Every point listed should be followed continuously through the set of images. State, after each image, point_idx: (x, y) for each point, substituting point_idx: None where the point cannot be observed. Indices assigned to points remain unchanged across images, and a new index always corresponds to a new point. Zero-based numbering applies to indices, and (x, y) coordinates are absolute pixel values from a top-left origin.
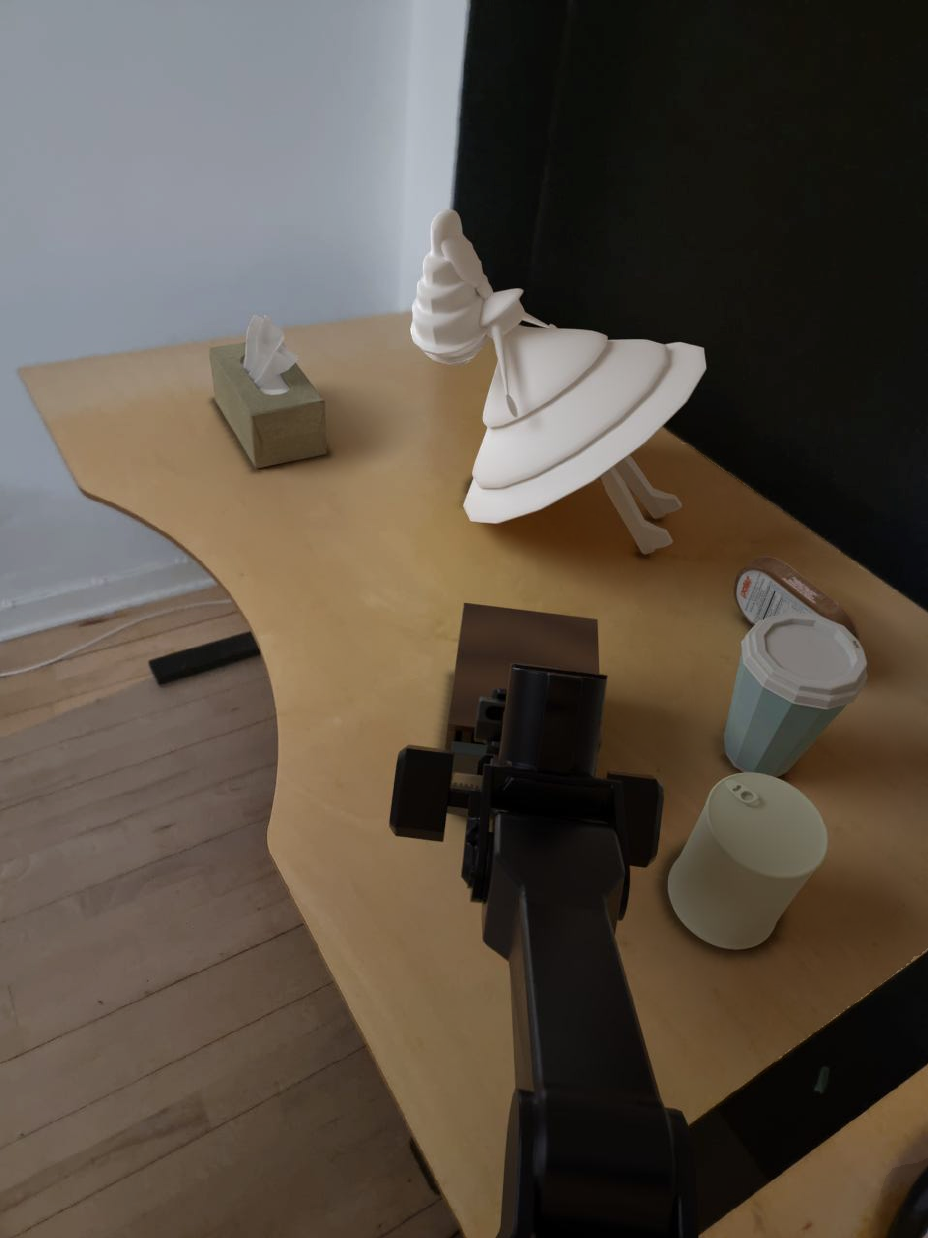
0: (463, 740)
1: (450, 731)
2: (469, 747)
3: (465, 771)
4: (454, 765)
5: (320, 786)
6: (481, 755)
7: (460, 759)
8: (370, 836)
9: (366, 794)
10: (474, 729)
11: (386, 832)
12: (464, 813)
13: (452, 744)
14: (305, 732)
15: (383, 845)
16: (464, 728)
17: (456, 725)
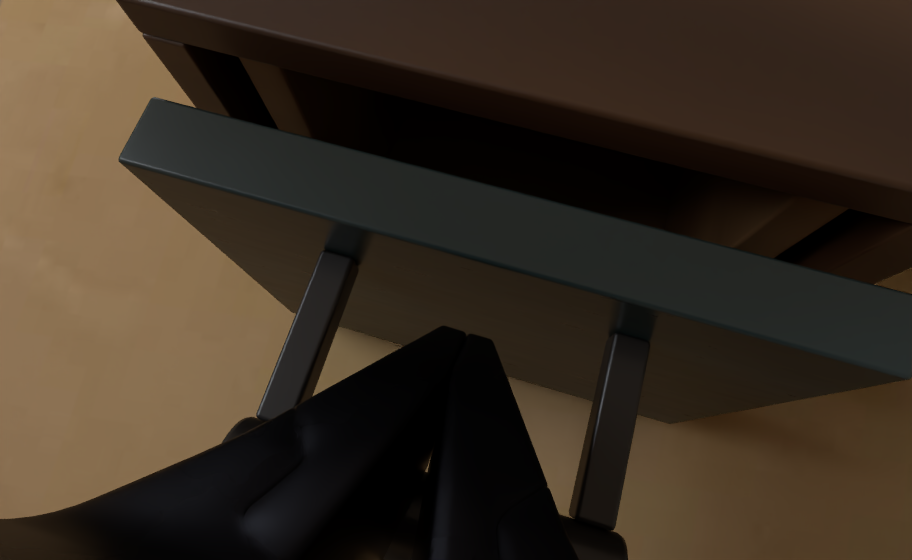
0: (267, 98)
1: (160, 45)
2: (222, 142)
3: (254, 241)
4: (193, 214)
5: (14, 181)
6: (267, 197)
7: (188, 197)
8: (89, 344)
9: (120, 218)
10: (259, 43)
11: (135, 338)
12: (343, 325)
13: (142, 115)
14: (30, 34)
15: (114, 377)
16: (208, 32)
17: (156, 9)
